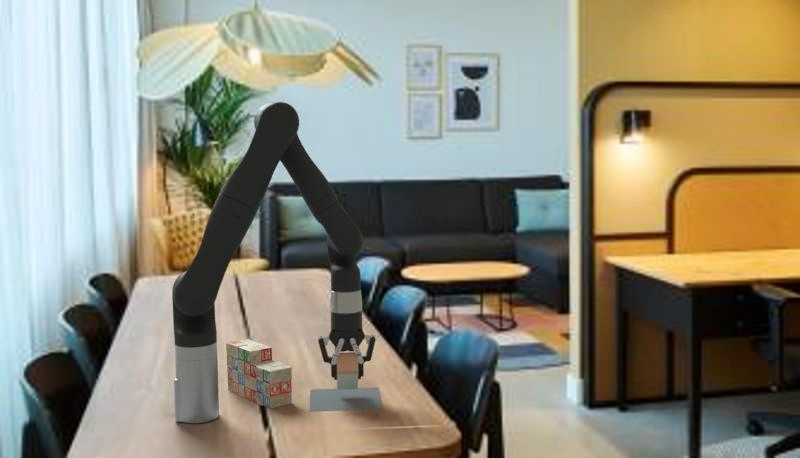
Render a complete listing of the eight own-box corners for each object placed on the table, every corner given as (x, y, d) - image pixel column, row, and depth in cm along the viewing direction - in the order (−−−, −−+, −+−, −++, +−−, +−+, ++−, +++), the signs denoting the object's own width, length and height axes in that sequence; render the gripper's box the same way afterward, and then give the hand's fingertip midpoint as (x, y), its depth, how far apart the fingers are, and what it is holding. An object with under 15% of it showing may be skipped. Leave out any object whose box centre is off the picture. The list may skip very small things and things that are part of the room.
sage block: (336, 389, 204) (337, 371, 197) (336, 371, 207) (336, 352, 200) (357, 389, 205) (358, 370, 198) (356, 371, 208) (357, 352, 201)
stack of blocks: (292, 405, 200) (291, 354, 198) (269, 410, 196) (268, 358, 194) (249, 385, 216) (248, 338, 215) (227, 389, 212) (225, 341, 211)
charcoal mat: (309, 413, 193) (309, 411, 193) (310, 391, 210) (310, 389, 210) (383, 410, 195) (383, 408, 195) (378, 388, 212) (378, 387, 212)
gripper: (315, 312, 195) (317, 384, 197) (377, 311, 197) (378, 382, 198) (315, 306, 203) (317, 375, 205) (375, 304, 204) (376, 373, 206)
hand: (347, 378), depth 202 cm, fingers closed on sage block, 5 cm apart
